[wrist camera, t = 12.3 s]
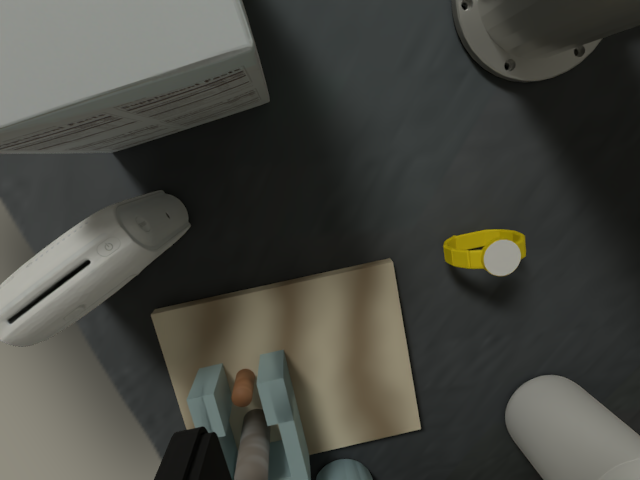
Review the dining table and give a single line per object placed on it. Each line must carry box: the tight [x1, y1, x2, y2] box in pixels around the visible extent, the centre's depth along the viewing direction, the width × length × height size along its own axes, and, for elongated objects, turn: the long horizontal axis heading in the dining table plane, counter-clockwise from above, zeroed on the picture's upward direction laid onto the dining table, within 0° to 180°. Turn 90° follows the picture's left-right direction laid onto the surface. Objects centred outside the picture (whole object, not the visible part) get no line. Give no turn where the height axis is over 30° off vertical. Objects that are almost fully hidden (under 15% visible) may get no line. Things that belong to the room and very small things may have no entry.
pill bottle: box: [505, 375, 640, 480], centre depth 33 cm, size 8×8×15 cm
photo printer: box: [0, 190, 191, 347], centre depth 28 cm, size 10×4×12 cm, turn 126°
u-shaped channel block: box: [187, 350, 311, 480], centre depth 34 cm, size 10×7×4 cm
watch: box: [443, 229, 526, 276], centre depth 33 cm, size 6×3×6 cm, turn 101°
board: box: [151, 258, 421, 480], centre depth 33 cm, size 20×16×8 cm
